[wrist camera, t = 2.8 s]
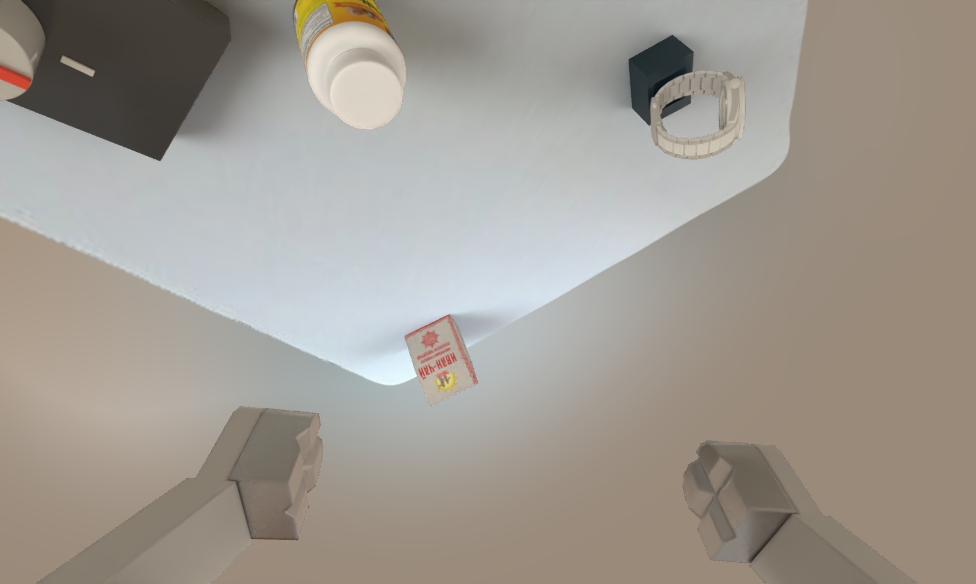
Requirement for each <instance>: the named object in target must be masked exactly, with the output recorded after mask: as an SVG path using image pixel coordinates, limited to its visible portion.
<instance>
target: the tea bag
mask: <svg viewBox="0 0 976 584" xmlns="http://www.w3.org/2000/svg"><path fill="white" fill-rule="evenodd" d="M405 340H406V343H407V346H408V349H409V353H410V356H411V359H412V362H413V366H414V369H415V372H416V375H417V377H418V379H419V382H420V384H421V386H422V388H423V391H424V393H425V395H426V398H427V400H428V403H429V405H430V406H432V405H434V404H436V403H438V402H440V401H442V400H444V399H447V398H449V397H451V396H453V395H455V394H457V393H459V392H461V391H463V390H466V389H468V388H470V387H472V386H474V385H476V384H478V381H477V378H476V375H475V372H474V368H473V365H472V361H471V359H470V356H469V354H468V351H467V348H466V346H465V343H464V341H463V338H462V336H461V333H460V331H459V328H458V326H457V325H456V323H455V322H454V320H453V319H452V318H451V316H450V315H448V316H445V317H443V318H441V319H439V320H437V321H435V322H433V323H431V324H429V325H427V326H425V327H423V328H420V329H418V330H416V331H414V332H412V333H410V334H408V335H406V336H405Z"/></svg>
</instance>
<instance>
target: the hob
mask: <svg viewBox="0 0 976 584" xmlns="http://www.w3.org/2000/svg"><path fill="white" fill-rule="evenodd" d="M21 1H22V2H23V3H24V4H26V5H27V7H28V8H29V9H30V10H31V11H32V12H33V13H34V15H35V16H36V17H37V19H38V21H39V22H40V24H41V26H42V28H43V31H44V35H45V49H44V52H43V55H42V57H41V60H40V62H39V65H38V68H37V70H36V73H35V76H34V78H33V81H32V84H31V85H30V87H29V88H28V90H27V91H26V92H24V93H23V94H22V95H20V96H18V97H15V98H12V99H8V100H6V101H8V102H11V103H14V104H16V105H19V106H21V107H24V108H26V109H29V110H31V111H34V112H36V113H39V114H42V115H44V116H47V117H49V118H52V119H54V120H57V121H59V122H62V123H64V124H67V125H69V126H72V127H75V128H77V129H80V130H82V131H85V132H87V133H90V134H92V135H95V136H97V137H100V138H103V139H105V140H108V141H110V142H113V143H115V144H118V145H120V146H123V147H125V148H128V149H131V150H133V151H136V152H138V153H141V154H143V155H146V156H148V157H151V158H153V159H156V160H158V161H161V159H162V158H163V156H164V154H165V152H166V151H167V149H168V147H169V146H170V144H171V142H172V140H173V139H174V137H175V135H176V134H177V132H178V130H179V128H180V127H181V125H182V123H183V121H184V120H185V118H186V116H187V115H188V113H189V111H190V109H191V108H192V106H193V104H194V103H195V101H196V99H197V97H198V96H199V94H200V92H201V90H202V89H203V87H204V85H205V84H206V82H207V80H208V78H209V77H210V75H211V73H212V72H213V70H214V68H215V66H216V65H217V63H218V61H219V59H220V58H221V56H222V54H223V53H224V51H225V49H226V47H227V46H228V44H229V42H230V41H231V33H230V23H229V17H228V16H226V15H225V14H223V13H222V12H220V11H219V10H217V9H216V8H214V7H213V6H211V5H209V4H208V3H206V2H205V1H203V0H21Z"/></svg>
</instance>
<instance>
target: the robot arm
mask: <svg viewBox="0 0 976 584" xmlns="http://www.w3.org/2000/svg"><path fill="white" fill-rule="evenodd" d="M320 425H321V424H320V418H319V414H317V413H310V412H300V411H289V410H279V409H268V408H254V407H244V406H240V407H239V408H238V409H237V410H236V411H234V412H233V414H232V416H231V417H230V419H229V421H228V422H227V424H226V426H225V428H224V429H223V431H222V433H221V435H220V437H219V438H218V440H217V442H216V443H215V445H214V447H213V449H212V450H211V452H210V454H209V456H208V457H207V459H206V461H205V463H204V464H203V466H202V468H201V470H200V471H199V473H198V475H197V477H196V478H187V479H185V480H184V481H182V482H181V483H179V484H178V485H177V486H175V487H174V488H173V489H171V490H169V491H168V492H167V493H165V494H164V495H162V496H161V497H159V498H158V499H156V500H155V501H154V502H152V503H151V504H149V505H148V506H146V507H145V508H144V509H142V510H141V511H139V512H138V513H136V514H135V515H133V516H132V517H131V518H129V519H128V520H126V521H125V522H123V523H122V524H121V525H119V526H118V527H116V528H115V529H113V530H112V531H110V532H109V533H108V534H106V535H105V536H103V537H102V538H101V539H99V540H98V541H96V542H95V543H93V544H92V545H91V546H89V547H87V548H86V549H85V550H83V551H82V552H80V553H79V554H78V555H76V556H75V557H73V558H72V559H70V560H69V561H67V562H66V563H64V564H63V565H62V566H60V567H59V568H57V569H56V570H55V571H53V572H52V573H50V574H49V575H47V576H46V577H44V578H43V579H41V580H40V581H39V582H37V584H211V583H212V582H213V581H214V580H215V579H216V578H217V577H218V576H219V575H220V574H221V573H222V572H223V571H224V570H225V569H226V568H227V567H228V566H229V565H230V564H231V563H232V562H233V561H234V560H235V559H236V558H237V557H238V556H239V555H240V554H241V553H242V552H243V550H244V549H245V548H246V547H247V546H248V545H249V544H250V543H251V542H252V540H251V539H278V540H298V538H299V535H300V532H301V529H302V526H303V523H304V520H305V517H306V514H307V510H308V508H309V506H308V498H307V493H308V492H309V491H310V490H312V489H313V488H314V487H315V486H316V483H317V479H318V476H319V473H320V467H321V462H322V453H323V445H322V439H321V438H320V437H319V436H318V435H317V434H318V431H319V428H320ZM697 454H698V456H699V459H697V460H695V461H694V462H692V463H690V464H689V465H688V467H687V469H686V471H685V473H684V477H683V490H684V495H685V499H686V501H687V504H688V507H689V509H690V510H692V512H694V513H695V514H696V515H697V516H698V517H699V518H700V521H699V524H698V528H697V529H698V531H699V534H700V536H701V539H702V541H703V544H704V546H705V548H706V551H707V553H708V556H709V558H710V560H714V561H727V562H740V563H750V565H749V566H750V567H751V568H752V569H753V571H754V572H755V573H756V574H757V575H758V576H759V577H760V578H761V579H762V580H763V582H764V583H765V584H918V583H917V582H915V581H914V580H913V579H912V578H910V577H909V576H908V575H906V574H905V573H904V572H902V571H901V570H900V569H899V568H897V567H896V566H895V565H893V564H892V563H891V562H890V561H888V560H887V559H886V558H884V557H883V556H882V555H880V554H879V553H878V552H877V551H875V550H874V549H873V548H871V547H870V546H868V545H867V544H866V543H865V542H864V541H862V540H861V539H860V538H858V537H857V536H856V535H855V534H853V533H852V532H851V531H849V530H848V529H847V528H845V527H844V526H843V525H841V524H840V523H839V522H838V521H836V520H835V519H833V518H832V517H831V516H824V515H823V514H822V512H821V511H820V509H819V508H818V506H817V504H816V503H815V501H814V500H813V498H812V497H811V495H810V494H809V492H808V491H807V489H806V488H805V486H804V485H803V483H802V482H801V480H800V479H799V477H798V476H797V474H796V472H795V471H794V469H793V468H792V466H791V465H790V463H789V462H788V460H787V459H786V457H785V456H784V454H783V453H782V451H781V450H780V449H779V448H777V447H776V446H775V445H764V444H749V443H739V442H722V441H705V442H703V443H701V445H700V446H699V448H698V450H697Z"/></svg>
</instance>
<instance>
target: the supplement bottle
mask: <svg viewBox="0 0 976 584" xmlns="http://www.w3.org/2000/svg"><path fill="white" fill-rule="evenodd" d="M293 21H294V27H295V31H296V35H297V39H298V43H299V47H300V51H301V54H302V58H303V62H304V65H305V69H306V73H307V77H308V80H309V84H310V86H311V89H312V91H313V93H314V94H315V96H316V98H317V99H318V100H319V101H320V103H321V104H322V105H323V106H324V107H325V108H327V109H328V110H329V111H331V112H332V113H334V114H336V115H337V116H338V117H339V118H340V119H341V120H342V121H344V122H345V123H347V124H348V125H350V126H352V127H355V128H359V129H374V128H379V127H381V126H383V125H385V124H387V123H388V122H390V121H391V120H392V119H393V118H394V117H395V116H396V115H397V113H398V112H399V110H400V107H401V105H402V101H403V90H404V87H405V83H406V65H405V61H404V58H403V55H402V53H401V51H400V49H399V47H398V45H397V43H396V41H395V39H394V37H393V35H392V33H391V31H390V30H389V28H388V26H387V24H386V22H385V20H384V18H383V16H382V14H381V12H380V10H379V8H378V7H377V5H376V3H375V1H374V0H295V3H294V8H293Z"/></svg>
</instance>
